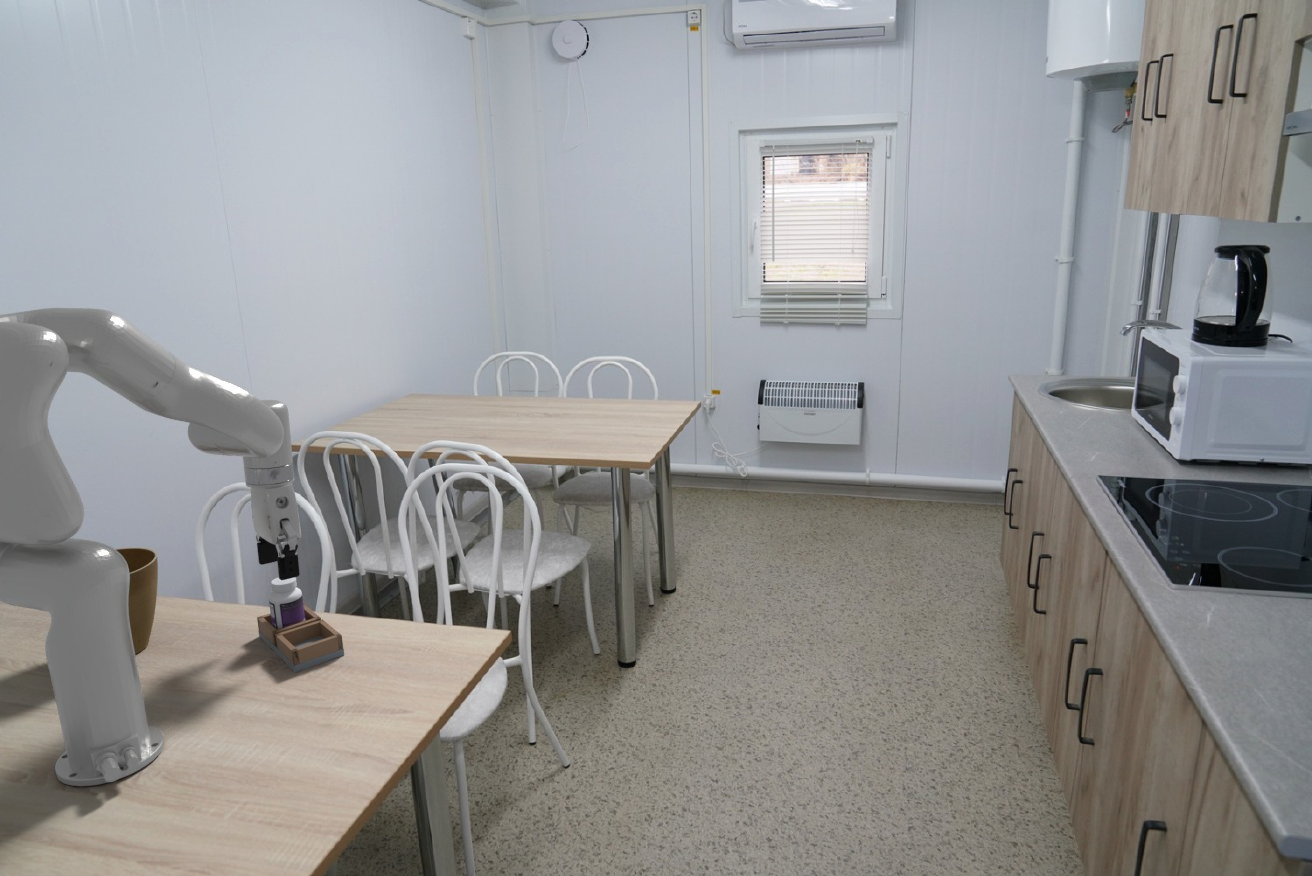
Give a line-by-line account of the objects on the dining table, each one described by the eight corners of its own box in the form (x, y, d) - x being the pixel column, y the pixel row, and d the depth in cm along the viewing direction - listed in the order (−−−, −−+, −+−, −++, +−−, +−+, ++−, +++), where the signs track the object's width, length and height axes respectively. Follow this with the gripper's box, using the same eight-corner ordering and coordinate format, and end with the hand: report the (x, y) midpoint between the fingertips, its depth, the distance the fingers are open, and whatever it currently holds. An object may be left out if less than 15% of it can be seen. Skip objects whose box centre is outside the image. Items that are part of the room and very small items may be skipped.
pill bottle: (312, 624, 151) (306, 574, 148) (296, 638, 146) (290, 587, 143) (283, 623, 151) (277, 573, 149) (267, 637, 146) (260, 585, 144)
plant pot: (142, 622, 155) (127, 541, 151) (189, 642, 147) (175, 557, 143) (52, 657, 142) (34, 570, 138) (98, 681, 135) (80, 589, 131)
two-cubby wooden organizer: (344, 654, 142) (342, 635, 141) (295, 672, 137) (292, 651, 136) (305, 621, 154) (303, 603, 154) (259, 636, 149) (256, 617, 148)
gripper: (312, 480, 137) (320, 578, 141) (274, 461, 150) (283, 552, 153) (264, 488, 132) (274, 590, 136) (229, 468, 145) (239, 562, 148)
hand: (279, 570), depth 145 cm, fingers open, 9 cm apart
